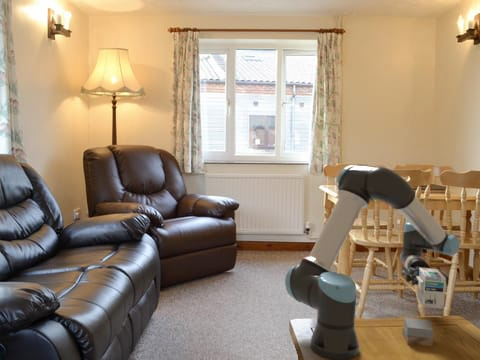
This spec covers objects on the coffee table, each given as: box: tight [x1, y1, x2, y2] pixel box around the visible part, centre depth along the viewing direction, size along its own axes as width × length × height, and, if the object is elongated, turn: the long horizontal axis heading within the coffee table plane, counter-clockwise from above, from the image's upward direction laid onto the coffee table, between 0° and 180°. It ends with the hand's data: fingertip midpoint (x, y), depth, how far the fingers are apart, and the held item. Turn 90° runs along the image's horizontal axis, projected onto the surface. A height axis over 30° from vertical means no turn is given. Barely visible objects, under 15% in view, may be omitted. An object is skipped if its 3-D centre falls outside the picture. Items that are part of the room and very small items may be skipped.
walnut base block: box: [401, 326, 434, 347], centre depth 152 cm, size 8×8×3 cm
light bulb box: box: [417, 268, 447, 310], centre depth 154 cm, size 11×7×11 cm, turn 170°
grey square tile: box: [403, 317, 435, 340], centre depth 152 cm, size 8×8×3 cm
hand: (433, 286), depth 151 cm, fingers closed on light bulb box, 7 cm apart
